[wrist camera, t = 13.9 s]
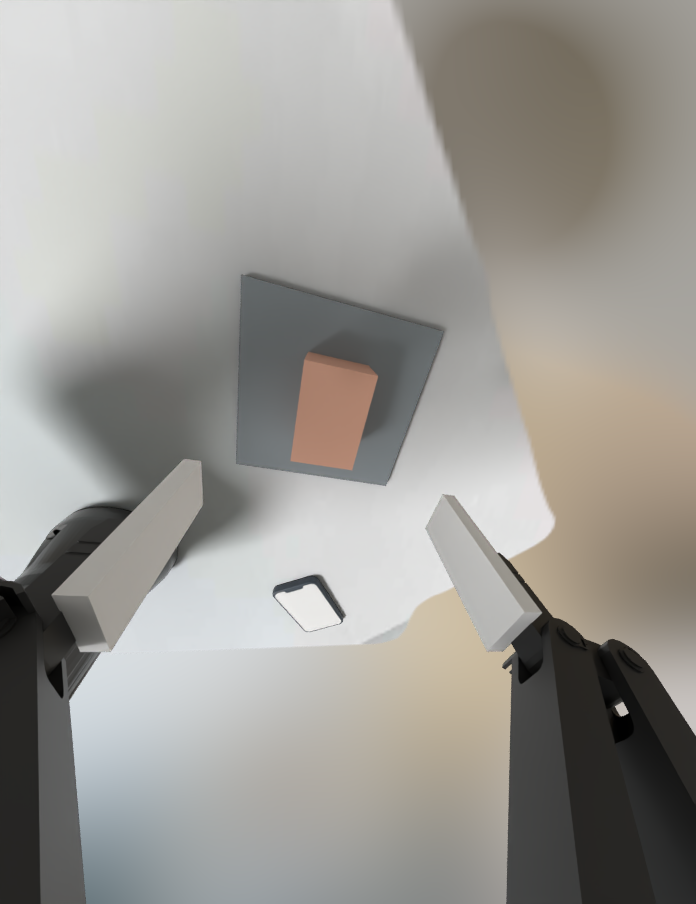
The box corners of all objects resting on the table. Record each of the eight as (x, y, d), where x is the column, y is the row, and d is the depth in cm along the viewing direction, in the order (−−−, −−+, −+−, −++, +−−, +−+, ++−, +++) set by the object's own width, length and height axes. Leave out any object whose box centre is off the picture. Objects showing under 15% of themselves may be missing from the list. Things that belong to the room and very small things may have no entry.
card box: (308, 351, 25) (304, 359, 20) (368, 365, 26) (378, 376, 22) (296, 437, 30) (290, 461, 25) (348, 446, 31) (352, 470, 26)
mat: (238, 460, 32) (236, 463, 31) (244, 275, 22) (241, 274, 22) (384, 482, 35) (385, 485, 34) (440, 331, 26) (443, 331, 25)
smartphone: (344, 614, 52) (316, 572, 44) (345, 623, 51) (315, 580, 43) (306, 625, 53) (270, 585, 45) (305, 633, 51) (269, 594, 43)
